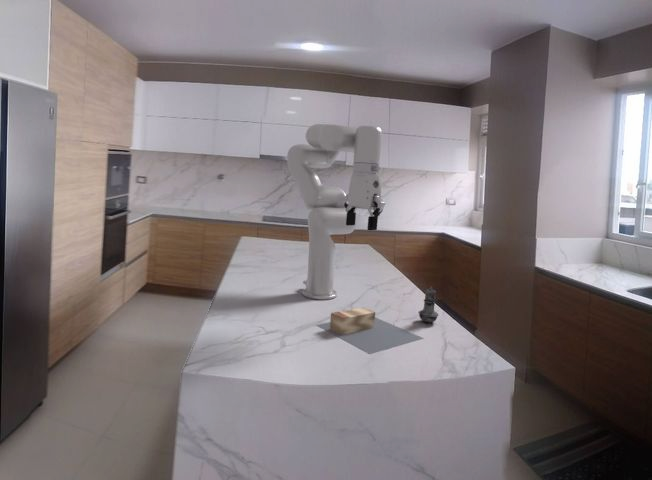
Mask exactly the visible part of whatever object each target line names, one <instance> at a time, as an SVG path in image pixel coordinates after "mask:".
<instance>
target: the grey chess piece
mask: <svg viewBox="0 0 652 480" xmlns="http://www.w3.org/2000/svg"><path fill="white" fill-rule="evenodd" d="M424 296H425V297H424V299H423V303H424V304H423V309H421V310H419V311H418V314H419V315H418V316H419V318H420V320H421V321H422V322H423V323H425V324H430V325H431V324H432V323H434V322H436V320H437V319H438V316H439V313H438V312H436V311H435V304H436V303H437V301H436V300H435V299H436V290H434V289H433V287H432V286H429V288H428V289H425V295H424Z"/></svg>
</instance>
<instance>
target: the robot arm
mask: <svg viewBox="0 0 652 480" xmlns="http://www.w3.org/2000/svg"><path fill="white" fill-rule="evenodd" d="M382 133H383V131H382V129H381V128H380V127H378V126H376V125H375V126H373V125H360V126H358V127H355V126H348V125H342V124H341V125H339V124H333V123H331V124H326V123H315V124H313V125H311V126H309V127H308V128H307V130H306V132H305V139H306V142H307V143H308V144H304V143H303V144H295V145H293V146H291V147H290V148H289V149H288V152H287V157H286V159H287V161H286V162H287V167H288V170H289V173H290V175H291V177H292V178H293V180H294V181H295V184H297V187H298V190H299V192H300V195H301V197H302V200H303V203H304V205H305V207H306V209H307V210H309V213H308V215H307V226H308V256H307V257H308V260H307V276H306V280H303V281H302V284H303V285H305V288H304V289H302V290H301V294H302V295H303V296H304V297H305V298H309V299H313V300H332V299H334V298H337V296H338V292H337V290H334V279H335V265H336V264H335V263H336V245H335V242H334V241H333V239H332V237H331V236H333V235H349V234H351V233H353V232H354V231H355V229H356V225H357V218H356V217H357V212H356V210H357V209H363V210H367V211H368V214H369V216H368V218H367V220H368V221H367V231H377V229H378V221H379V220H378V219H379V217H380V216H381V214H382V212H384V211H383V210H384V207H385V205H386V202H385V201H384V200H383V199H382V185H381V184H382V183H381V182H382V181H381V176H380V175H379V171H380V170H381V167H380V157H381V149H382V148H381V147H382V146H381V145H382V137H383V134H382ZM341 152H345V153H346V152H347V153H353V163H352V166H353V167H352V173H351V177H350V181H349V188H348V192H347V194H346V193H345V191H344V190H343V189H342V188H340V187H337V186H329V185H324V184H322V182H321V180H320V178H319V176H318V174H317V173H316V172H315V171H313V170H312V169H328V168H330V167H331V166H332V165H333V163H335V161H336V159H337V157H339V155H340V153H341Z"/></svg>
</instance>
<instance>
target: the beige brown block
mask: <svg viewBox="0 0 652 480" xmlns="http://www.w3.org/2000/svg"><path fill="white" fill-rule="evenodd" d="M375 317H376V311H373V310H370V309H369V308H366V307H358V308H353V309H346V310H342V311H334V312H331V313H330V321H329V322H330V329H331V330H332V331H334V332H336V333H338V334H340V335H344V334H349V333H353V332H357V331H361V330H365V329H370V328H374V322H375Z"/></svg>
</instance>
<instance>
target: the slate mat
mask: <svg viewBox="0 0 652 480" xmlns="http://www.w3.org/2000/svg"><path fill="white" fill-rule="evenodd" d="M316 326H317V327H318V328H320V329H323V330H324V331H326V332H328V333H330V334H331V335H333V336H335V337H337V338H339V339H341V340H342V341H344V342H347V343H348V344H350V345H352V346H354V347H356V348H358V349H359V350H361V351H363V352H365V353H367V354H369V355H372V354H374V353H378V352H382V351H386V350H390V349H393V348H396V347H399V346H403V345H406V344H409V343H412V342H416V341H420V340H424V337H422V336H419V335H418V334H415V333H414V332H413V333H412V332H411V331H408V330H405V329H403V328H401V327H399V326H397V325H394V324H392V323H390V322H387V321H385V320H383V319H379V318H377V317H376V316H375V322H374V328H370V329H365V330H361V331H357V332H353V333H349V334H344V335H340V334H338V333H336V332H334V331H332V330H331V329H330V321H329V322H324V323H319V324H316Z"/></svg>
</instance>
